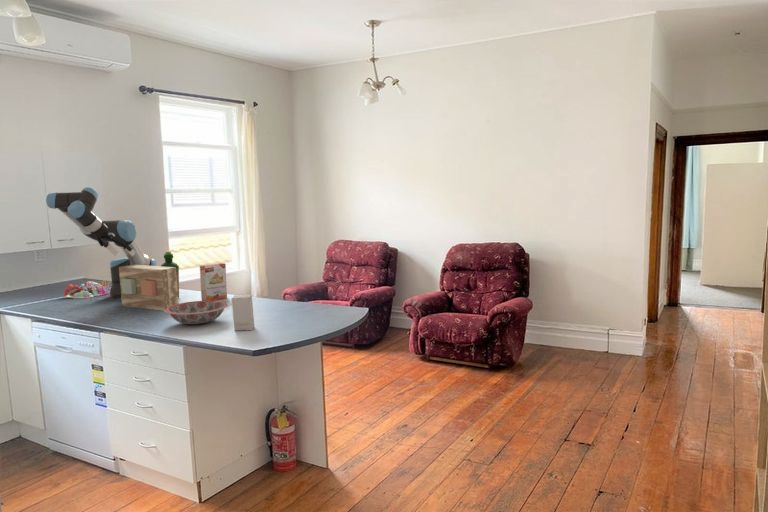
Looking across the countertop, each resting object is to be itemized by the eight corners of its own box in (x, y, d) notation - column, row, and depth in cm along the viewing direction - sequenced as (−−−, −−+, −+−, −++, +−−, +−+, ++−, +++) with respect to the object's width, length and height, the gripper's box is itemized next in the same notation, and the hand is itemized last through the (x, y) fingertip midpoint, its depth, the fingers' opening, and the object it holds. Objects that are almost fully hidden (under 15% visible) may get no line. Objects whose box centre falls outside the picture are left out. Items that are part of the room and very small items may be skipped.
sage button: (131, 294, 311) (130, 279, 310) (122, 293, 315) (120, 279, 314) (136, 293, 314) (135, 278, 313) (126, 292, 318) (125, 278, 317)
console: (164, 310, 305) (161, 270, 302) (122, 305, 321) (118, 267, 318) (178, 306, 314) (175, 267, 311) (137, 302, 330) (134, 264, 327)
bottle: (177, 299, 333) (173, 252, 330) (159, 300, 334) (155, 253, 330) (183, 296, 344) (180, 250, 340) (166, 296, 344) (162, 250, 341)
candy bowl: (82, 292, 370) (80, 278, 369) (117, 291, 369) (116, 277, 368) (58, 299, 345) (57, 284, 344) (96, 299, 344) (95, 284, 343)
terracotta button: (152, 296, 304) (150, 281, 303) (141, 295, 308) (140, 280, 306) (156, 295, 306) (155, 280, 305) (146, 294, 310) (145, 279, 309)
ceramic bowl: (193, 314, 294) (192, 299, 293) (241, 317, 284) (240, 302, 282) (152, 328, 267) (150, 311, 266) (202, 332, 257) (201, 315, 256)
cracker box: (207, 302, 324) (204, 266, 321) (201, 301, 328) (198, 265, 325) (228, 298, 335) (225, 263, 332) (221, 297, 339) (219, 262, 336)
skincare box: (254, 327, 264) (252, 294, 262) (252, 330, 257) (250, 297, 255) (236, 327, 263) (234, 294, 261) (233, 331, 257) (231, 297, 255)
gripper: (75, 232, 281) (105, 258, 297) (108, 233, 270) (137, 260, 285) (84, 221, 285) (113, 247, 301) (117, 221, 274) (145, 249, 289)
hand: (125, 254), depth 293 cm, fingers open, 12 cm apart
